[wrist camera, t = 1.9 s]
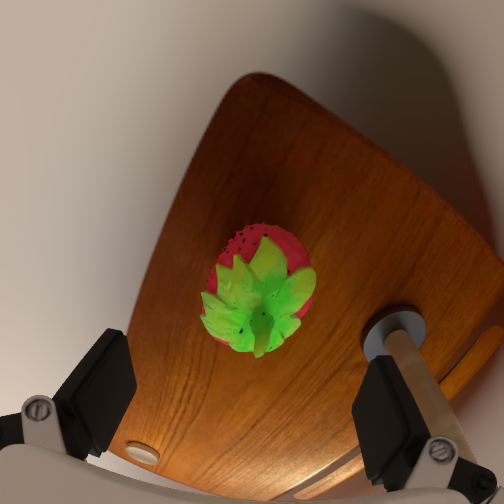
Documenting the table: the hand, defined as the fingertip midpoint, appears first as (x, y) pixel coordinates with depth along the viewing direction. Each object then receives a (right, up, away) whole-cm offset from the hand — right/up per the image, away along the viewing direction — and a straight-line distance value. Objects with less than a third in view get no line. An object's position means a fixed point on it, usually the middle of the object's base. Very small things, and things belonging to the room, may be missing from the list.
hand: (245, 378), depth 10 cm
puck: (-15, -24, +22) cm, 36 cm away
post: (+12, -2, +12) cm, 18 cm away
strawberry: (+1, +4, +11) cm, 12 cm away
